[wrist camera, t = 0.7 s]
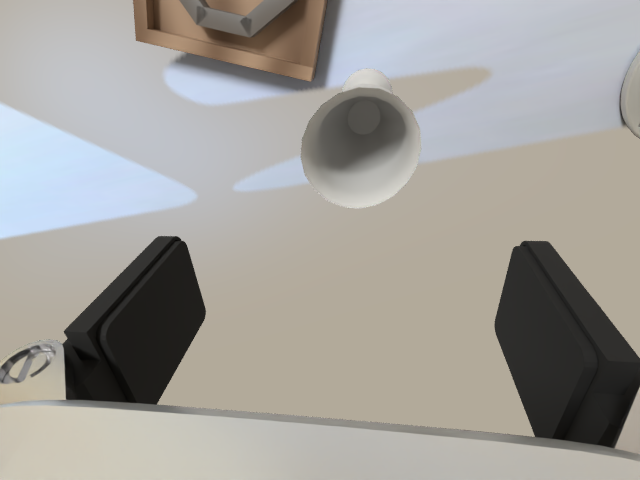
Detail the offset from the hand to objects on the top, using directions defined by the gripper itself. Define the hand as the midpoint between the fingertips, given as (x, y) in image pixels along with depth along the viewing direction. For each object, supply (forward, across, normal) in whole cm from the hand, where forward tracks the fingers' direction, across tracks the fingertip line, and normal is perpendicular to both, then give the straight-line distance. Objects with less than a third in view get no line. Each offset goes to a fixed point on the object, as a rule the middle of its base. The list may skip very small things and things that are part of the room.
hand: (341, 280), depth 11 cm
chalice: (+31, 0, 0) cm, 31 cm away
